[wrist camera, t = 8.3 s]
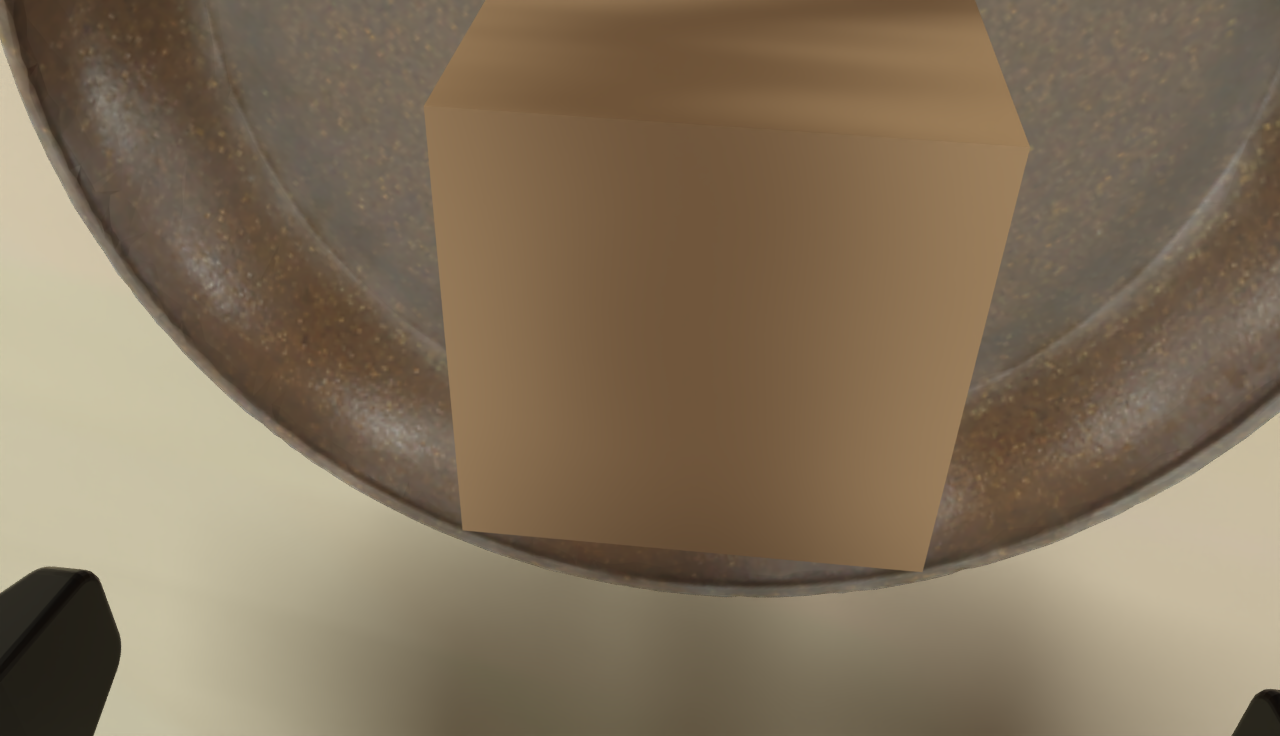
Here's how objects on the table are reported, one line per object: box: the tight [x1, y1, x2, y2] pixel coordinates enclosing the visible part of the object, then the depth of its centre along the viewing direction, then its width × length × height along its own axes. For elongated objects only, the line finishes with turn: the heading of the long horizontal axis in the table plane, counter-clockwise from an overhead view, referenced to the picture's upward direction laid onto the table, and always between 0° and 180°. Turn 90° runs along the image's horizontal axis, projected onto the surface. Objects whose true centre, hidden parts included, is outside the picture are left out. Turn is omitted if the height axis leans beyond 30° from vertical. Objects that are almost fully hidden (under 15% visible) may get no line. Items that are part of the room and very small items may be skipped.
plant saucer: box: [0, 0, 1280, 597], centre depth 17 cm, size 21×21×3 cm
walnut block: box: [424, 0, 1030, 572], centre depth 13 cm, size 5×5×6 cm
